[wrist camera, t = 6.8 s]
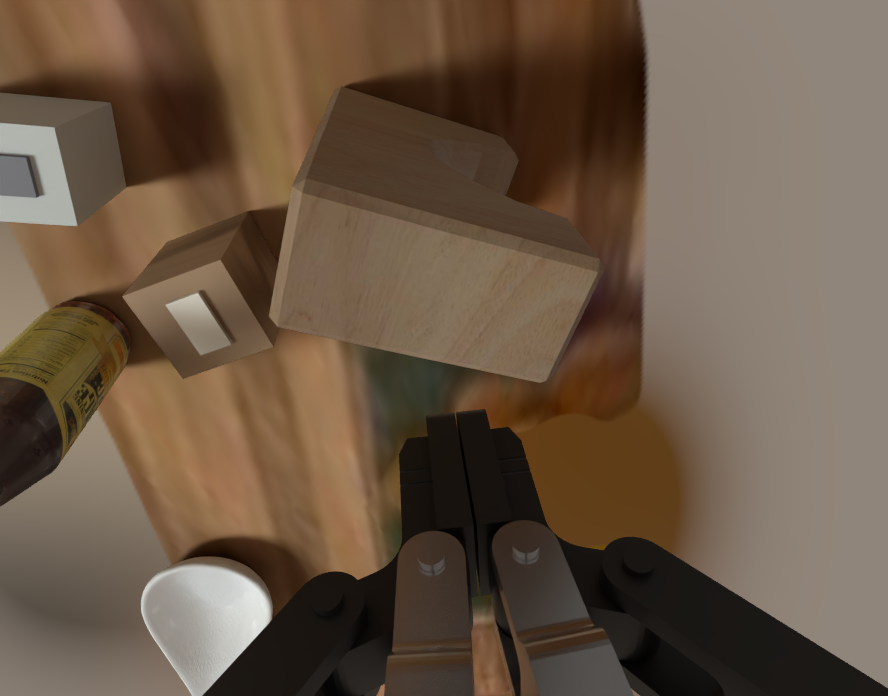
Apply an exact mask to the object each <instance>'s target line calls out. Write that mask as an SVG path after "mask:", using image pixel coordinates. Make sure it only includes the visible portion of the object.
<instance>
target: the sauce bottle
mask: <svg viewBox="0 0 888 696" xmlns="http://www.w3.org/2000/svg"><path fill="white" fill-rule="evenodd" d="M130 343H131V341H130V335H129V331H128V329H127V328H126V326H125V324H123V323H122V322H121V321H120V320H119V319H118V318H117V317H116V316H115V315H114V314H113V313H112V312H110V311H109V310H107V309H105V308H103V307H101V306H98V305H95V304H92V303H87V302H86V303H85V302H83V301H79V302H78V301H67V302H63V303H61V304H59V305H57V306H55V307H54V308H52V309H50V310H49V311H47V312H45V313H43V314H42V315H40V316H39V317H38V318H37V319H36V320H35V321H34V322H33V323H32V324H30V325H29V326H28V327H27V328H26V329H25V330H24V331H23V332H22V333H21V334H20V335H18V336H17V337H16V338H15V339H14V340H13V341H12V342H11V343H10V344H9V345H8V346H6V347H5V348H4V349H3V350H2V351H1V352H0V506H2V505H4V504H5V503H7V502H8V501H10V500H11V499H13V498H14V497H15V496H17V495H19V494H20V493H22V492H23V491H24V490H26V489H28V488H29V487H31V486H32V485H33V484H35V483H36V482H38V481H39V480H41V479H42V478H44V477H45V476H47V475H49V474H50V473H52V472H53V471H54V469H56V468H57V466H58V465H59V463H60V462H61V460H62V459H63V457H64V456H65V455H66V453H67V452H68V450H69V449H70V447H71V446H72V444H73V443H74V441H75V440H76V438H77V437H78V436H79V434H80V433H81V431H82V430H83V428H84V427H85V425H86V424H87V422H88V421H89V420H90V418H91V416H92V415H93V414H94V412H95V411H96V410H97V408H98V406H99V405H100V403H101V402H102V400H103V399H104V397H105V396H106V394H107V393H108V391H109V390H110V388H111V387H112V386H113V384H114V382H115V381H116V379H117V378H118V377H119V375H120V374H121V372H122V371H123V369H124V367H125V365H126V363H127V360H128V357H129V354H130V345H131V344H130Z"/></svg>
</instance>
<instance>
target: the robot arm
mask: <svg viewBox="0 0 888 696" xmlns="http://www.w3.org/2000/svg"><path fill="white" fill-rule="evenodd" d="M456 417H457V425H456V419H455V414H454V413H446V414H437V415H428V416H426V422H427V432H428V436H427V437H418V438H409V439H407V440H406V442H405V444H404V446H403V448H402V450H401V452H400V454H399V464H400V486H401V488H400V490H401V515H402V544H401V547H400V550H399V552H398V553H397V555H396V557H395V558H394V559H393V560H392V561H391V562H390V563H389V564H388V565H387V566H386V567H384V568H383V569H381V570H379V571H377V572H375V573H373V574H371V575H368V576H366V577H364V578H362V579H359V580H357V579H356V578H355V577H353V576H352V575H350V574H347V573H344V572H328V573H323V574H321V575H318V576H316V577H314V578H312V579H311V580H310V581H308V582H307V583H306V584H305V585H304V586H303V587H302V588H301V589H300V590H299V591H298V592H297V593H296V594H295V595H294V596H293V598H292V599H291V600H290V601H289V602H288V603H287V604H286V605H285V606H284V607H283V608H282V610H281V611H280V612H279V613H278V614H277V615H276V616H275V617H274V618H273V619H272V620H271V621H270V623H269V624H268V625H267V626H266V627H265V628H264V629H263V630H262V631H261V632H260V633H259V635H258V636H257V637H256V638H255V639H254V640H253V641H252V642H251V643H250V644H249V645H248V646H247V648H246V649H245V650H244V651H243V652H242V653H241V654H240V655H239V656H238V657H237V658H236V660H235V661H234V662H233V663H232V664H231V665H230V666H229V667H228V668H227V669H226V670H225V671H224V673H223V674H222V675H221V676H220V677H219V678H218V679H217V680H216V681H215V682H214V683H213V685H212V686H211V687H210V688H209V689H208V690H207V691H206V692H205V693H204V694H203V695H202V696H376V695H377V693H378V691H379V689H380V686H381V685H383V684H385V692H384V696H475V691H474V674H473V657H472V640H471V630H472V627H473V611H472V597H476V596H478V592H477V576H478V582H479V588H480V594H481V596H482V595H490V594H491V598H492V603H493V609H494V624H495V632H496V635H497V639H498V643H499V647H500V651H501V655H502V659H503V663H504V666H505V670H506V674H507V678H508V682H509V686H510V690H511V694H512V696H634V695H633V693H632V690H631V688H632V689H633V690H634V691H635V692H636V693H638V694H639V695H640V696H888V688H886V687H885V686H883V685H882V684H880V683H878V682H877V681H875V680H873V679H872V678H870V677H869V676H867V675H865V674H864V673H862V672H861V671H859V670H857V669H856V668H854V667H853V666H851V665H849V664H848V663H846V662H845V661H843V660H841V659H840V658H838V657H836V656H835V655H833V654H832V653H830V652H828V651H827V650H825V649H824V648H822V647H820V646H819V645H817V644H816V643H814V642H812V641H810V640H809V639H807V638H806V637H804V636H803V635H801V634H799V633H798V632H796V631H795V630H793V629H791V628H790V627H788V626H787V625H785V624H783V623H782V622H780V621H778V620H777V619H775V618H774V617H772V616H771V615H769V614H767V613H766V612H764V611H763V610H761V609H759V608H758V607H756V606H754V605H753V604H751V603H749V602H748V601H746V600H745V599H743V598H742V597H740V596H738V595H737V594H735V593H734V592H732V591H730V590H728V589H727V588H725V587H724V586H722V585H721V584H719V583H718V582H716V581H714V580H712V579H711V578H709V577H708V576H706V575H705V574H703V573H701V572H700V571H698V570H696V569H695V568H693V567H692V566H690V565H689V564H687V563H685V562H684V561H682V560H681V559H679V558H677V557H676V556H674V555H673V554H671V553H669V552H668V551H666V550H664V549H663V548H661V547H660V546H658V545H656V544H655V543H653V542H651V541H648V540H646V539H642V538H637V537H624V538H619V539H617V540H614V541H613V542H611V543H610V544H609V545H607V547H606V548H605V549H604V550H598V549H592V548H585V547H580V546H576V545H573V544H570V543H568V542H566V541H564V540H562V539H561V538H559V537H558V536H557V535H556V534H554V533H553V531H552V530H551V529H550V528H549V526H548V525H547V522H546V520H545V517H544V514H543V511H542V507H541V504H540V501H539V497H538V494H537V491H536V488H535V485H534V481H533V478H532V475H531V472H530V468H529V465H528V461H527V459H526V455H525V452H524V448H523V445H522V442H521V440H520V439H519V438H518V437H517V435H516V434H515V433H514V432H513V431H512V430H511V429H510V428H509V427H505V428H496V429H490V426H489V422H488V418H487V414H486V410H485V409H481V410H472V411H463V412H457V413H456ZM476 570H477V575H476Z"/></svg>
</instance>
